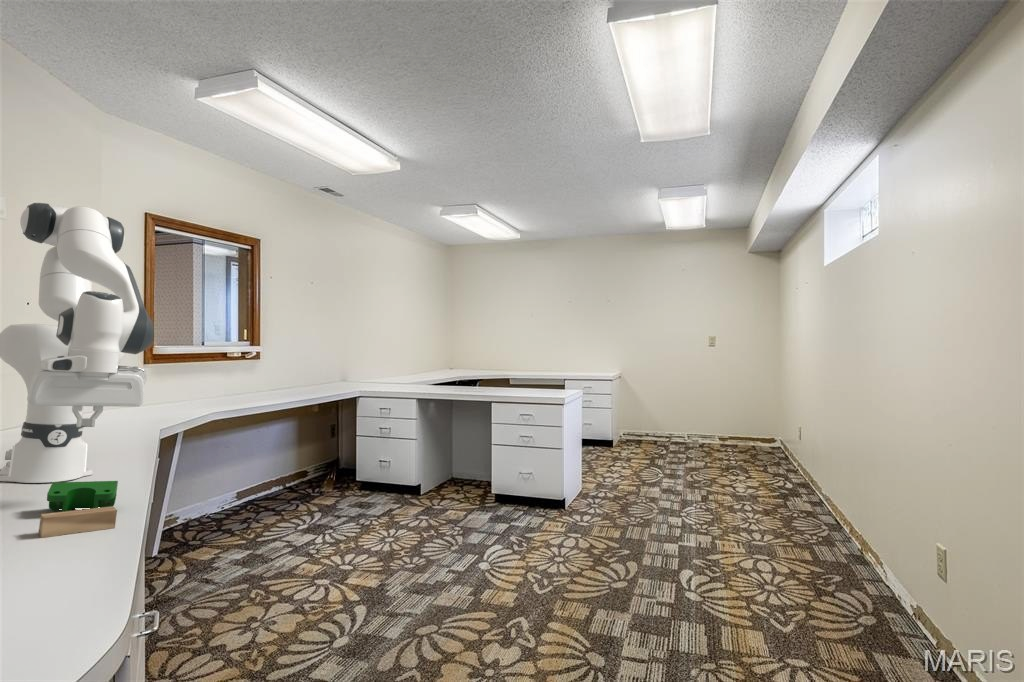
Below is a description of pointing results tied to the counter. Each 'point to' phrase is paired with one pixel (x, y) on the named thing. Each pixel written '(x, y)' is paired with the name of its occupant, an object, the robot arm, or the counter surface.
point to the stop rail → (77, 521)
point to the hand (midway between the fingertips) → (85, 426)
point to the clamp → (81, 495)
